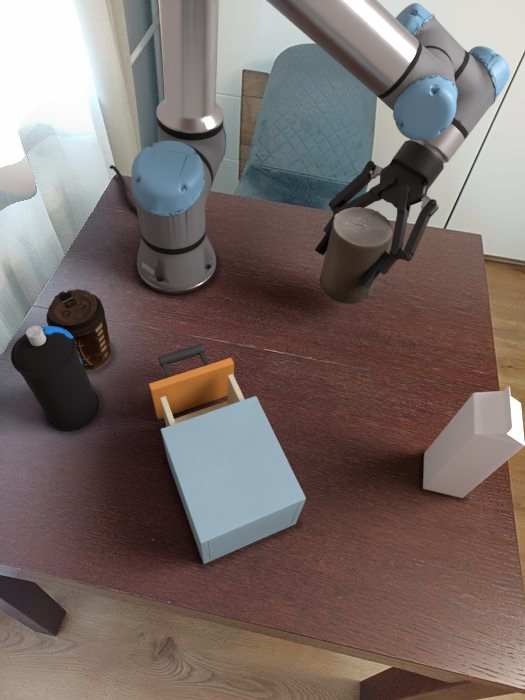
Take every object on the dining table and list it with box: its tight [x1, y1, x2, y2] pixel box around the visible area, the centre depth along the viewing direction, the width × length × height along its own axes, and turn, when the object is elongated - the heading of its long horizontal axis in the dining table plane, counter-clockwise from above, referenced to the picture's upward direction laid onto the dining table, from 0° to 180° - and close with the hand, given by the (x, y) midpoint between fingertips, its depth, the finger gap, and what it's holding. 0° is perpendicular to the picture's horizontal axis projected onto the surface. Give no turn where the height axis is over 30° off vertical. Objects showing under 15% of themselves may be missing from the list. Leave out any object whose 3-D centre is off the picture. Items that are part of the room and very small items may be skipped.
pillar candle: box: [319, 207, 393, 305], centre depth 84 cm, size 10×10×15 cm
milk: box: [422, 385, 525, 499], centre depth 67 cm, size 6×6×22 cm
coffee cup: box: [45, 288, 112, 372], centre depth 79 cm, size 9×8×13 cm
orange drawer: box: [148, 343, 246, 427], centre depth 74 cm, size 20×13×9 cm, turn 24°
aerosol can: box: [10, 324, 100, 432], centre depth 70 cm, size 8×8×20 cm
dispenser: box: [160, 395, 307, 565], centre depth 68 cm, size 16×14×11 cm
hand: (340, 269), depth 84 cm, fingers closed on pillar candle, 9 cm apart
